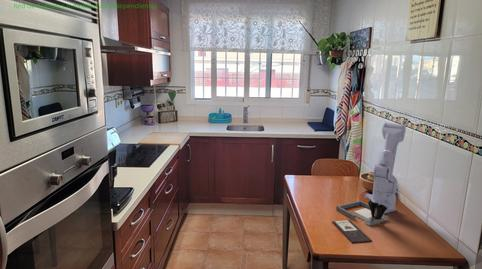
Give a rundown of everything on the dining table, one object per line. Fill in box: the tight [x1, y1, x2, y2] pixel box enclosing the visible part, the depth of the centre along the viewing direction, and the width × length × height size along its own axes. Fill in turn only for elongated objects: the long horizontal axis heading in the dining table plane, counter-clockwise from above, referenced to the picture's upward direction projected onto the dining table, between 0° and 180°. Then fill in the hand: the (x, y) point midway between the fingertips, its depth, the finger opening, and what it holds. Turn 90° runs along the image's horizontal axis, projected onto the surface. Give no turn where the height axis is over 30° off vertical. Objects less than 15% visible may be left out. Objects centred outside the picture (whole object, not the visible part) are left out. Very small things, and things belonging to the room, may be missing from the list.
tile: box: [353, 207, 372, 222], centre depth 158 cm, size 8×8×2 cm
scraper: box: [364, 207, 389, 227], centre depth 153 cm, size 12×3×7 cm, turn 120°
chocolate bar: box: [331, 219, 373, 244], centre depth 144 cm, size 9×1×18 cm
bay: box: [335, 200, 371, 221], centre depth 164 cm, size 17×12×2 cm
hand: (376, 217), depth 154 cm, fingers open, 2 cm apart
